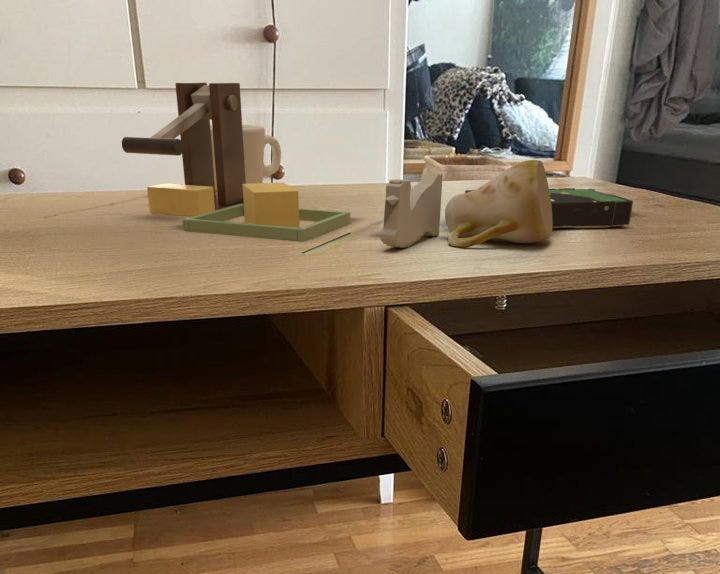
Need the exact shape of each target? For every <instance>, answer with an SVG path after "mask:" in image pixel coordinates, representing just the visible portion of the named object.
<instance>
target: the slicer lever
mask: <svg viewBox="0 0 720 574" xmlns="http://www.w3.org/2000/svg"><path fill="white" fill-rule="evenodd" d="M191 98H192V102H193V106H192V107H190V108H189V109H188V110H186V111H185V112H184V113H182V114H181V115H180V116H178V115H177V117H175V118H174V119H173V120H172V121H170V122H169V123H168V124H166V125H164V127H162V128H160V130H158V131H157V132H156V133H154V134H153V135H152V136H150V137H144V136H143V137H141V136H124V137H123V138H122V140H121V148H122V150H123V152H124V153H126V154H137V155H140V154H141V155H158V156H159V155H160V156H175V157H176V156H179V157H180V156H182V152H183V144H182V141H181V138H178V137H179V136H180V134H181V133H183V132H184V131H185V130H187V129H188V128H189V127H190V126H192V125H193V124H194V123H195V122H197V121H198V120H199V119H208V120H210V121H212V117H211V104H210V91H209V84H207V85H204V86H203V87H201V88H200V89H198V90H197V91H196V92H194V93H193V94H192V95H191Z"/></svg>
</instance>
